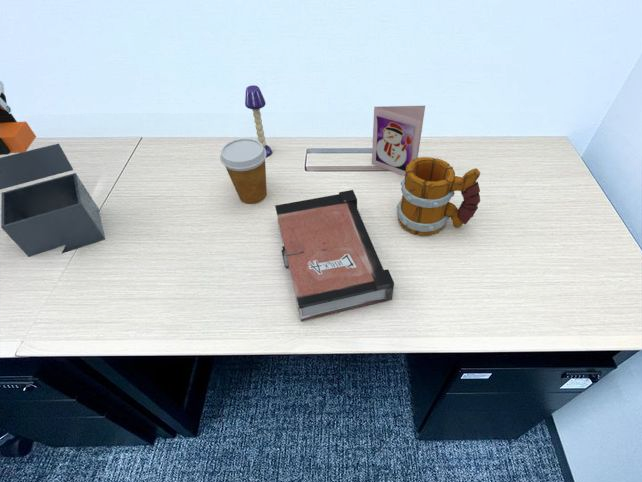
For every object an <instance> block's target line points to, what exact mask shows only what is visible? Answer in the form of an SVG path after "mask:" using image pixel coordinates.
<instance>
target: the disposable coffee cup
mask: <svg viewBox="0 0 642 482" xmlns="http://www.w3.org/2000/svg"><path fill="white" fill-rule="evenodd" d="M266 155H267V153H266V150H265V148H264V147H263V145H262V144H261V143H260V142H259V141H258V139H254V138H249V137H243V138H236V139H233V140H231V141H228V142H227V143H225V144H224V145H223V146H222V147H221V150H220V156H219V159H220V162H221V164H222V165H223V167H225V169H226V172H227V174H228V176H229V178H230V180H231V183H232V185H233V187H234V189H235V191H236V194H237V196H238V198H239V200H240V202H242V203H244V204H246V205H254V204H255V205H256V204H258V203H261V202H263V201H264V200H265V199H266V198H267V195H268V189H267V187H268V186H267V170H266V158H267V157H266Z"/></svg>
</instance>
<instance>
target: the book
mask: <svg viewBox="0 0 642 482" xmlns="http://www.w3.org/2000/svg"><path fill="white" fill-rule="evenodd" d="M274 207H275V212H276V217H277V222H278V227H279V231H280V236H281V240H282V244H283V245H282V247H281V248H282V249H281V254H282V260H283V264H284V267H285V268H286V269H288V270H289V275H290V278H291V282H292V287H293V290H294V291H293V292H294V296H295V301H296V303H297V307H298V312H299V316H300V320H301V321H300V322H304V321H309V320H313V319H317V318H321V317H326V316H330V315H334V314H338V313H342V312H343V313H344V312H347V311H350V310H355V309H360V308H364V307H368V306H372V305H376V304H380V303H384V302H390V301H392V300H393V296H394V289H395V281H394V279H393V277H392V275H391V272H390V270H389V269H388V268H387V269H384V267H383V265H382V263H381V261H380V258H379V256H378V254H377V251H376V249H375V246H374V244H373V242H372V240H371V237H370V235H369V233H368V230H367V228H366V225H365V224H364V221H363V219H362V217H361V215H360V212H359V209H358V198H357V196H356V193H355V191H354V189H350V190H344V191H339V192H338V194H332V195H326V196H321V197H315V198H310V199H304V200H298V201H291V202H287V203H286V202H285V203H281V204H275V205H274Z"/></svg>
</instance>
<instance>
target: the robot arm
mask: <svg viewBox="0 0 642 482" xmlns="http://www.w3.org/2000/svg"><path fill="white" fill-rule="evenodd" d="M8 122H18V120H17V119H16V118H15V117H14V115H13V114H12V109H11V107H10V106H9V104H8V103H7V96H6V95H5V86H4V83H3V81H1V80H0V123H8ZM10 152H11V151H10V150H9V148H8V147H7V146H6V145H5V143H4V142H3V141H2V139H1V138H0V156H9V155H10V154H11V153H10Z"/></svg>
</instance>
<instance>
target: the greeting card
mask: <svg viewBox="0 0 642 482" xmlns="http://www.w3.org/2000/svg"><path fill="white" fill-rule="evenodd" d="M425 110H426V105H392V106H391V105H388V106H386V105H385V106H382V105H381V106H374V107H373V125H372V126H373V127H372V149H371V150H372V151H371V165H373V166H376V167H379V168H382V169H384V170H387V171H390V172H392V173H395V174H398V175H401V176H402V177H405V170H406V166H407V164H408V163H409V162H410V161H413V160H414V159H416V158H419V153H420V146H421V137H422V131H423V125H424V119H425V112H426V111H425Z"/></svg>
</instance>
